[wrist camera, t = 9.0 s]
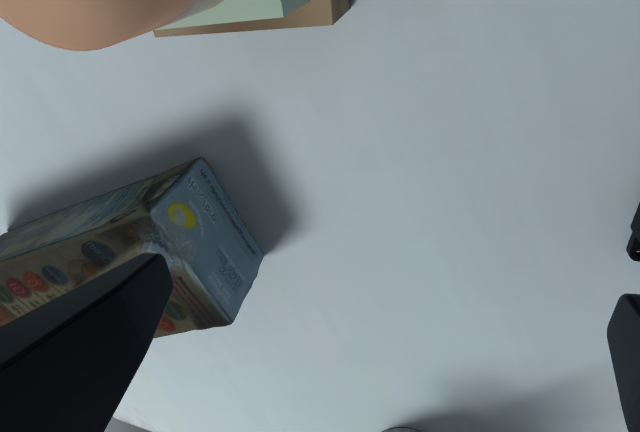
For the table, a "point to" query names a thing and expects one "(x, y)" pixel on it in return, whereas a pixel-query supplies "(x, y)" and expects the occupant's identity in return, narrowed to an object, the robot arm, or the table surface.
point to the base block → (273, 20)
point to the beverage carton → (139, 248)
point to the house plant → (401, 430)
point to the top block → (240, 12)
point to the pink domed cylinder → (95, 19)
